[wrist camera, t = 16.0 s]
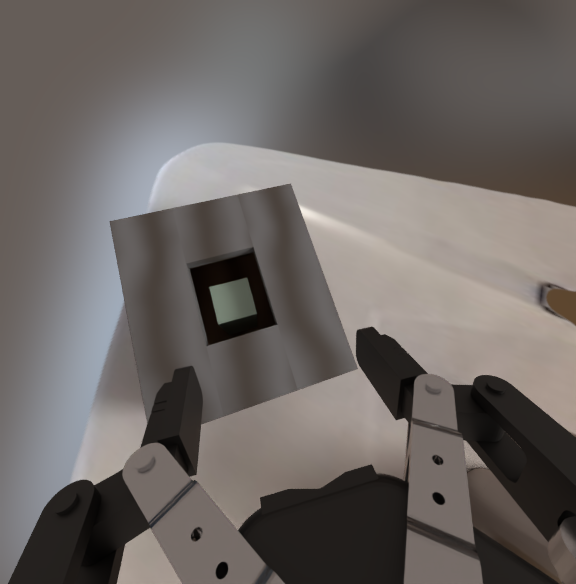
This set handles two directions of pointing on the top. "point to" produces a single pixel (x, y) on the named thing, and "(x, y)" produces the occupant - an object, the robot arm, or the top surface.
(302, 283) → the box
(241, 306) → the sage peg
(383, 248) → the top surface
